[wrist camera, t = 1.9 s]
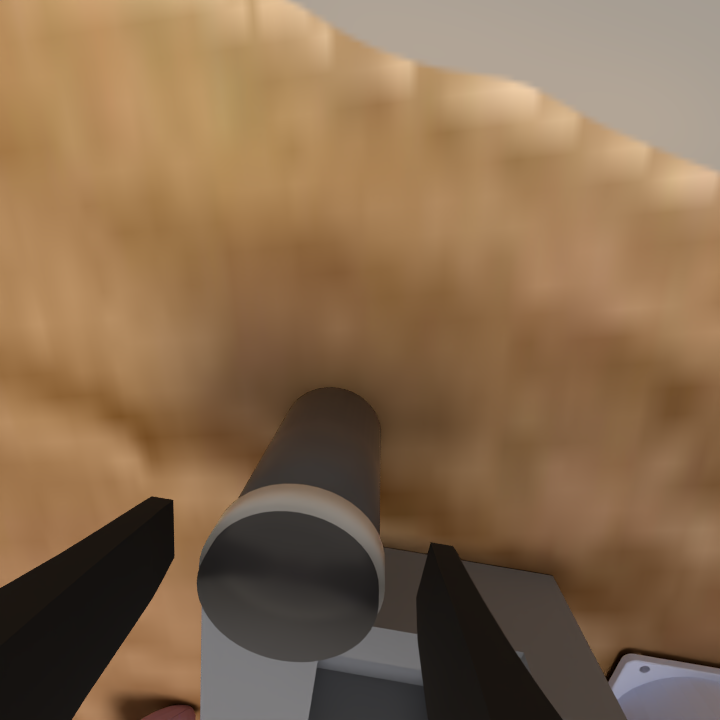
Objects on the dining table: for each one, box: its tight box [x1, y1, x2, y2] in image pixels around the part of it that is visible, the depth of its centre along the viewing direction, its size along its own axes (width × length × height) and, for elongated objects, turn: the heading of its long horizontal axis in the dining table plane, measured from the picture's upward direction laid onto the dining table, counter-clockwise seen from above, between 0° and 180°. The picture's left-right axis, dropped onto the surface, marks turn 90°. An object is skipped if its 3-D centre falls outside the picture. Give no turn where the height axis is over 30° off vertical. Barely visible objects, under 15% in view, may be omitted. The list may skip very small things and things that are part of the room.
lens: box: [197, 388, 385, 662], centre depth 12 cm, size 5×5×8 cm
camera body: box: [200, 547, 627, 720], centre depth 17 cm, size 16×10×6 cm, turn 82°
